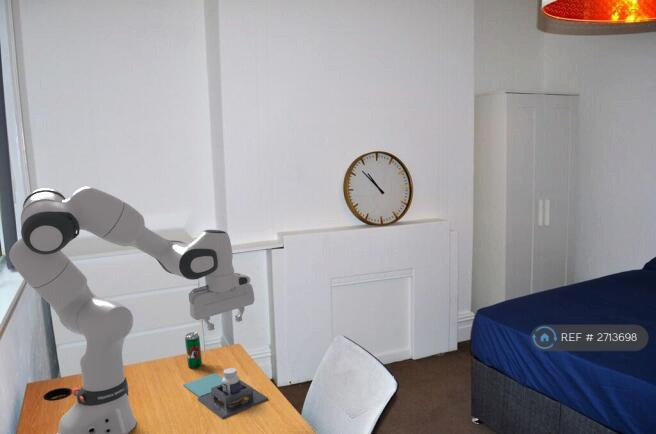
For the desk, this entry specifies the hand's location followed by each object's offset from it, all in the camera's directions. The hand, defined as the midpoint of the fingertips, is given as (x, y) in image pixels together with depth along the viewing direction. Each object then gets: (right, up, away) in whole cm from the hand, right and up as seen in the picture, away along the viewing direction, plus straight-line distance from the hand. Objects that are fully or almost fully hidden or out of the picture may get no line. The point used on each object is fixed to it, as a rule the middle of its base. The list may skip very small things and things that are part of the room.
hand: (225, 325), depth 165 cm
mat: (-9, -23, +15) cm, 28 cm away
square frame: (+2, -24, +4) cm, 24 cm away
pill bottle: (+2, -24, +4) cm, 25 cm away
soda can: (-17, -21, +31) cm, 41 cm away
